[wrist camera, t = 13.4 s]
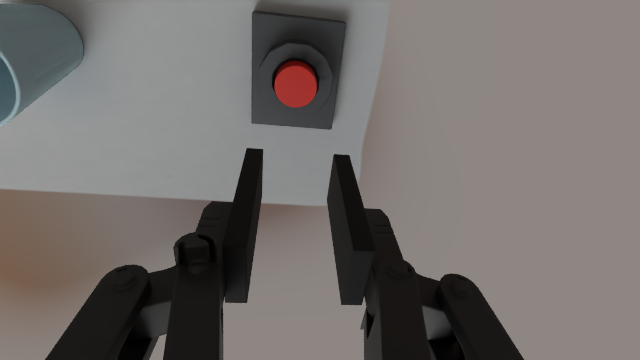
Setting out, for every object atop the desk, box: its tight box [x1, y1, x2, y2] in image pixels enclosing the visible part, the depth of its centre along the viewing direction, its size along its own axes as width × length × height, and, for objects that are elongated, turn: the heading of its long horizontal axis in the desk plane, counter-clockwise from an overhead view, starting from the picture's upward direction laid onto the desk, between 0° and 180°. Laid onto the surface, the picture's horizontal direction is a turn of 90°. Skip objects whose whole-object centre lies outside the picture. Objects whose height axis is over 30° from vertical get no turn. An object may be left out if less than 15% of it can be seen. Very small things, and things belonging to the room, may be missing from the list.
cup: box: [0, 4, 83, 126], centre depth 25 cm, size 8×8×10 cm
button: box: [274, 61, 317, 107], centre depth 30 cm, size 4×4×2 cm
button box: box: [252, 11, 346, 129], centre depth 31 cm, size 10×8×3 cm
